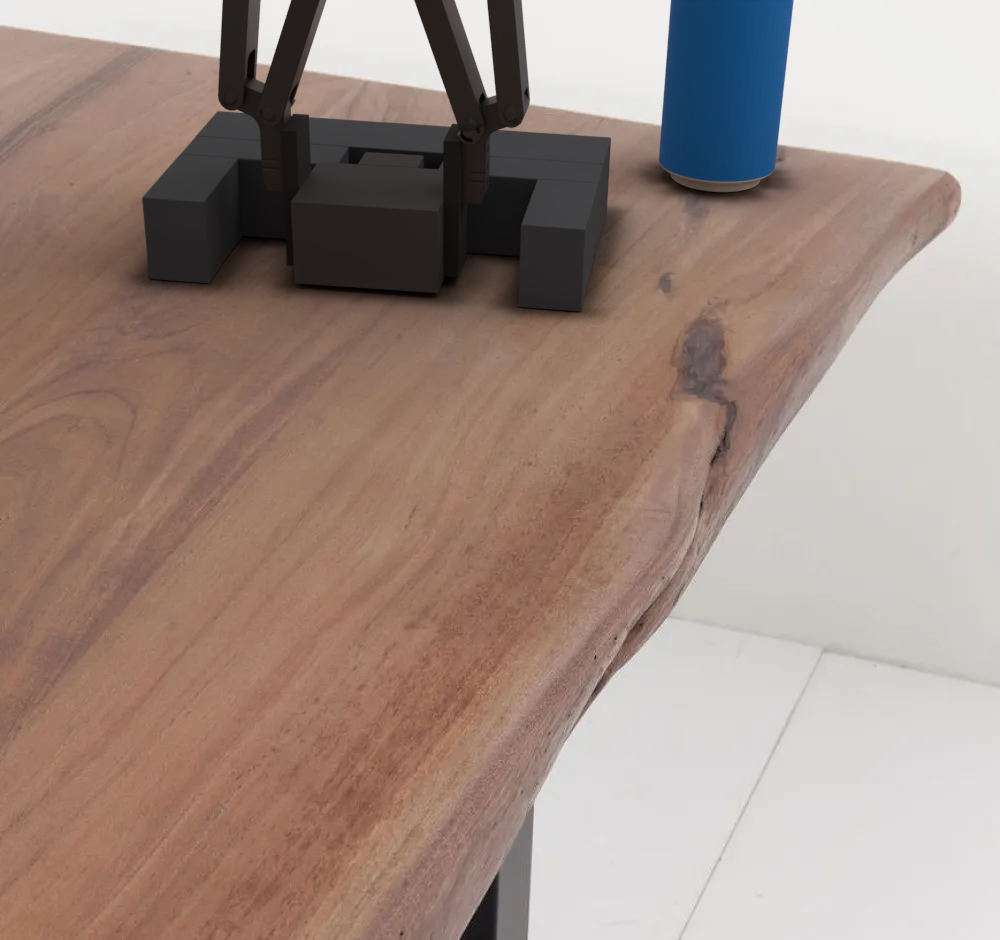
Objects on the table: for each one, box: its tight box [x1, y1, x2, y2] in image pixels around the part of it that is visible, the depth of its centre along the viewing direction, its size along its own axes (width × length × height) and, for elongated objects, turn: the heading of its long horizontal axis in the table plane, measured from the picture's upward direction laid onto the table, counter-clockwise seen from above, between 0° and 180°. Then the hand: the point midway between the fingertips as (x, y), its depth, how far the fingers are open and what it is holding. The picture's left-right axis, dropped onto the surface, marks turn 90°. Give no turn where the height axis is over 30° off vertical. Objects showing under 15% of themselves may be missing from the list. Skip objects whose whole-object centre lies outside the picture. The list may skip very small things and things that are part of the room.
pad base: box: [141, 110, 612, 312], centre depth 94 cm, size 21×14×4 cm, turn 82°
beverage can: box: [658, 0, 795, 193], centre depth 102 cm, size 6×6×12 cm
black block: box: [291, 152, 446, 294], centre depth 92 cm, size 7×8×4 cm
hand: (377, 260), depth 92 cm, fingers closed on black block, 7 cm apart
